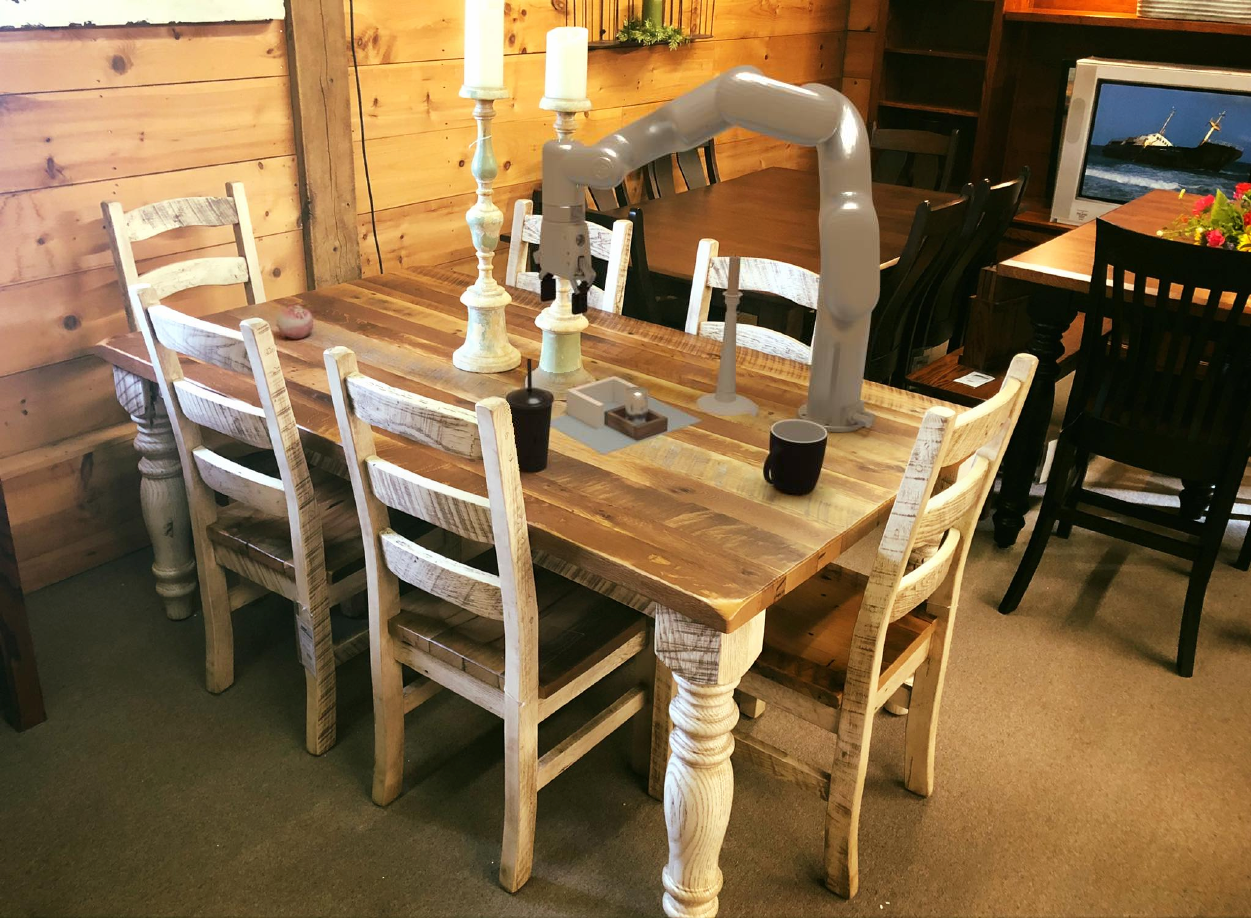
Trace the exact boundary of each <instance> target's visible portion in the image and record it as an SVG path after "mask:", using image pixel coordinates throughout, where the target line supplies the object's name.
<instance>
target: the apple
mask: <svg viewBox="0 0 1251 918" xmlns="http://www.w3.org/2000/svg"><path fill="white" fill-rule="evenodd" d="M276 327H277V329H278V330H279V332H280V333H281V334H280V335H281V337H282V338H283V340H284V341H286V340H288V339H292V340H301V339H304V338H307V337H311V336H310V334H311V333H312V331H313V329H314V317H313V315H312V312H311V311H310V310H309V309H307V308H306V307H304V306H302V305H299V304H294V305H293V304H292V305H289V306H287V307H285V308H284V309H283V310H281V312H280V313H278V316H277V319H276Z"/></svg>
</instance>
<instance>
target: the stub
mask: <svg viewBox="0 0 1251 918" xmlns="http://www.w3.org/2000/svg"><path fill="white" fill-rule="evenodd" d="M649 392H650V391H649V389H647V388H645V387H643V386H638V387H630V388H627V389H626V400H625V419H627V420H629V421H631V422H633V423H635V424H637V425H640V424H643V423H646V422H647V421H648V396H649Z"/></svg>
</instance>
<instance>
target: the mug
mask: <svg viewBox="0 0 1251 918" xmlns="http://www.w3.org/2000/svg"><path fill="white" fill-rule="evenodd" d="M827 441H828V431H826V429H825V428H824V427H822V426H821V425H819V424H817V423H814V422H811V421H806V420H799V419H797V418H796V419H795V418H794V419H793V418H791V419H784V420H779V421H776V422H774V423H773V424H772V425H771V427H770V431H769V444H768V445H769V452H768V455H767V456H766V458H765V460H764V463H763V467H762V475H763V478H764V481H766V483H767V484H769V485H771V486H773V487H774V489H775V490H776V491H777V492H779V493H780V494H783V495H786V496H791V497H792V496H793V497H801V496H802V497H803V496H806V495H809V494H811V493H812V492H813V491H814V490H815V488H816V486H817V483H818V481H819V478H820V475H821V473H822V468H823V463H824V460H825V454H826V449H827V443H828V442H827Z"/></svg>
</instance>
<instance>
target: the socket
mask: <svg viewBox="0 0 1251 918" xmlns="http://www.w3.org/2000/svg"><path fill="white" fill-rule="evenodd" d="M604 424H605V425H607V426H609V427H611V428H613V429H614V430H616V431H618V432H620V433H622V434H624V435H626V436H628V437H630V438H632V439H634V440H636V441H639V440H642V439H645V438H648V437H651V436H654V435H657V434H660V433H663V432H666V431H667V427H668V418H667V417H665V416H663V415H661V414H658V413H656V412H654V411H652V410H650V409H648V421H647V422H646V423H643V424H640V425H637V424H635V423H633V422H631V421H629V420H627V419H625V405H624V406H620V407H617V408H614V409H611V410H608V411H604Z"/></svg>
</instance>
